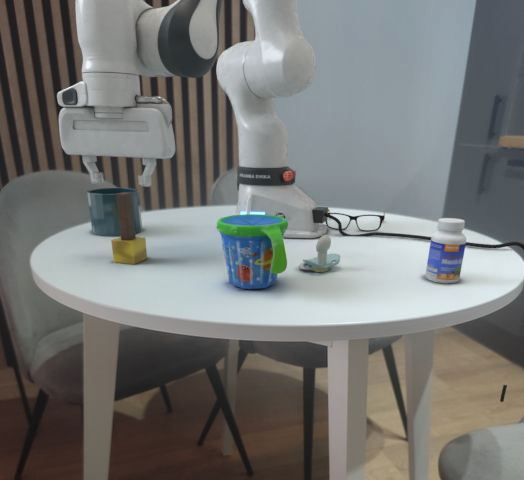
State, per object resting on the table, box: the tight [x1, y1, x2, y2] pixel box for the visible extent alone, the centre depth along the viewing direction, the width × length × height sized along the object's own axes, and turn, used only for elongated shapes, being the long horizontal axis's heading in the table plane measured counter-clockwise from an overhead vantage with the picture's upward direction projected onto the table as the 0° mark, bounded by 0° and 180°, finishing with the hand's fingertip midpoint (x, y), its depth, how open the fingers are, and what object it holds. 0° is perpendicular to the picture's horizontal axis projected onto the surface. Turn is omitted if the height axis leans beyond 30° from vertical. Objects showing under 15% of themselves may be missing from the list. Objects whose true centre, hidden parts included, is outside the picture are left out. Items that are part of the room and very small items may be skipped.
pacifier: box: [298, 234, 341, 273], centre depth 86 cm, size 7×6×6 cm
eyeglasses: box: [324, 208, 386, 233], centre depth 123 cm, size 14×14×4 cm
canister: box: [86, 187, 143, 237], centre depth 114 cm, size 11×11×9 cm
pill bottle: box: [425, 217, 467, 284], centre depth 81 cm, size 5×5×10 cm
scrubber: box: [110, 192, 148, 265], centre depth 89 cm, size 4×4×12 cm
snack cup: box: [216, 214, 288, 290], centre depth 77 cm, size 16×10×10 cm
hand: (121, 184), depth 86 cm, fingers open, 8 cm apart
